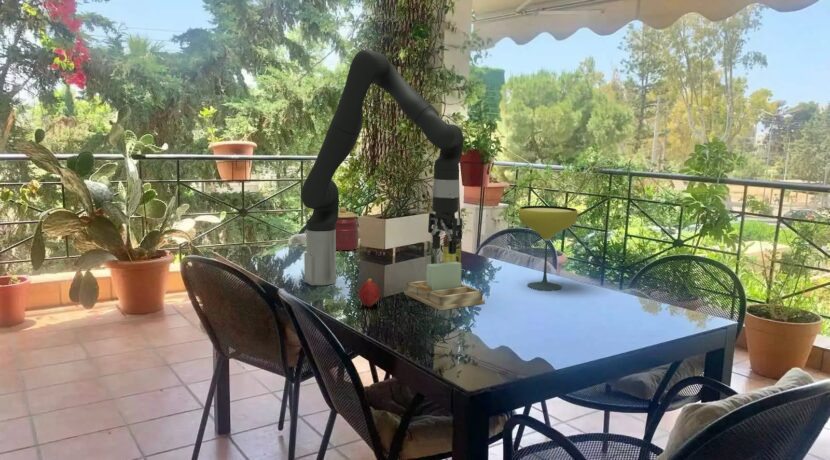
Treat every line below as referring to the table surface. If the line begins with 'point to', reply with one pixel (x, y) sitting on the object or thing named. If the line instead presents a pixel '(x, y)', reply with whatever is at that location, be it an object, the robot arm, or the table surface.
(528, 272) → the table surface
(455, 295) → the rack
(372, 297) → the onion
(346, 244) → the canister
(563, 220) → the cocktail glass
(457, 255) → the sauce bottle
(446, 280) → the block
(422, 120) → the robot arm
